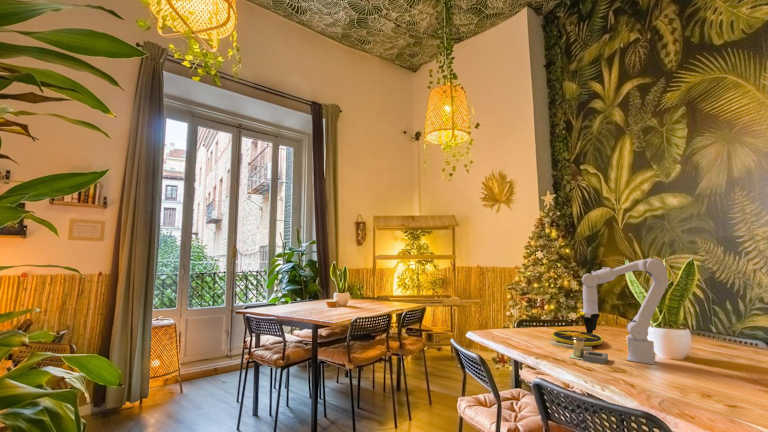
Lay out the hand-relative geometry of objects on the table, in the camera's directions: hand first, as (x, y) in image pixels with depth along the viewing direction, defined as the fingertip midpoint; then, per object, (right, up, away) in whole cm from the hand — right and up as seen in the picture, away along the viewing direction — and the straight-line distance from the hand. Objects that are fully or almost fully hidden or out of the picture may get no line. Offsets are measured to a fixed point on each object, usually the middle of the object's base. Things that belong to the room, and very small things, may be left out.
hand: (591, 331), depth 173 cm
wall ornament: (+4, -13, +22) cm, 25 cm away
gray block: (-3, -10, -8) cm, 13 cm away
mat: (-8, -10, -4) cm, 14 cm away
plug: (-8, -10, -5) cm, 13 cm away
